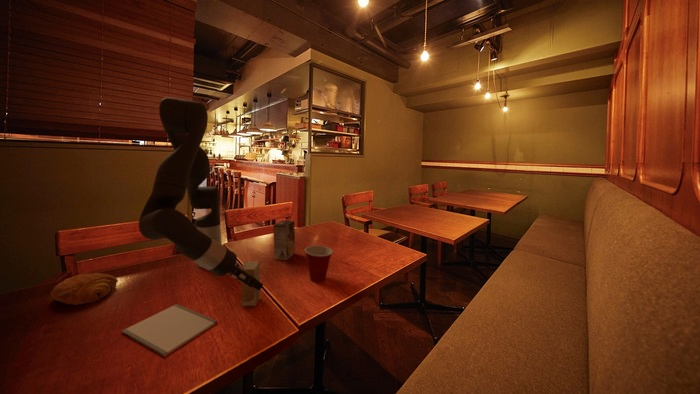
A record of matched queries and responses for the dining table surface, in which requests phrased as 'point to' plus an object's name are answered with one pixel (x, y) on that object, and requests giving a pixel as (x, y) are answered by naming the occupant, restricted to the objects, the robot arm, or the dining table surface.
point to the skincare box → (250, 293)
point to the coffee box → (284, 240)
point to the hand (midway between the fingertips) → (255, 282)
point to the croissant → (84, 288)
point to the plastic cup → (318, 262)
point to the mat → (169, 329)
